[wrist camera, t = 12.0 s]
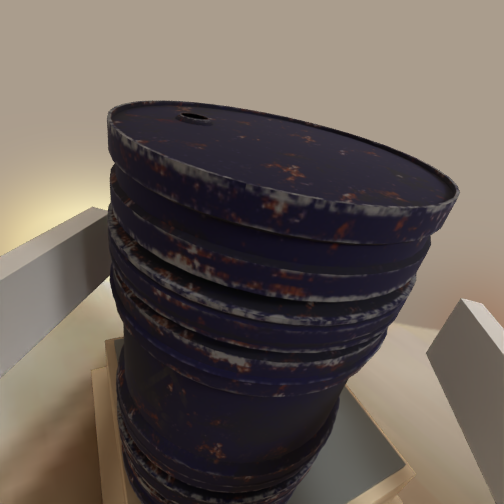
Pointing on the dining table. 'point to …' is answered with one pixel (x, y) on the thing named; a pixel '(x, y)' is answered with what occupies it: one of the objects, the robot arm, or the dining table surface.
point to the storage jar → (251, 288)
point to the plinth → (114, 444)
